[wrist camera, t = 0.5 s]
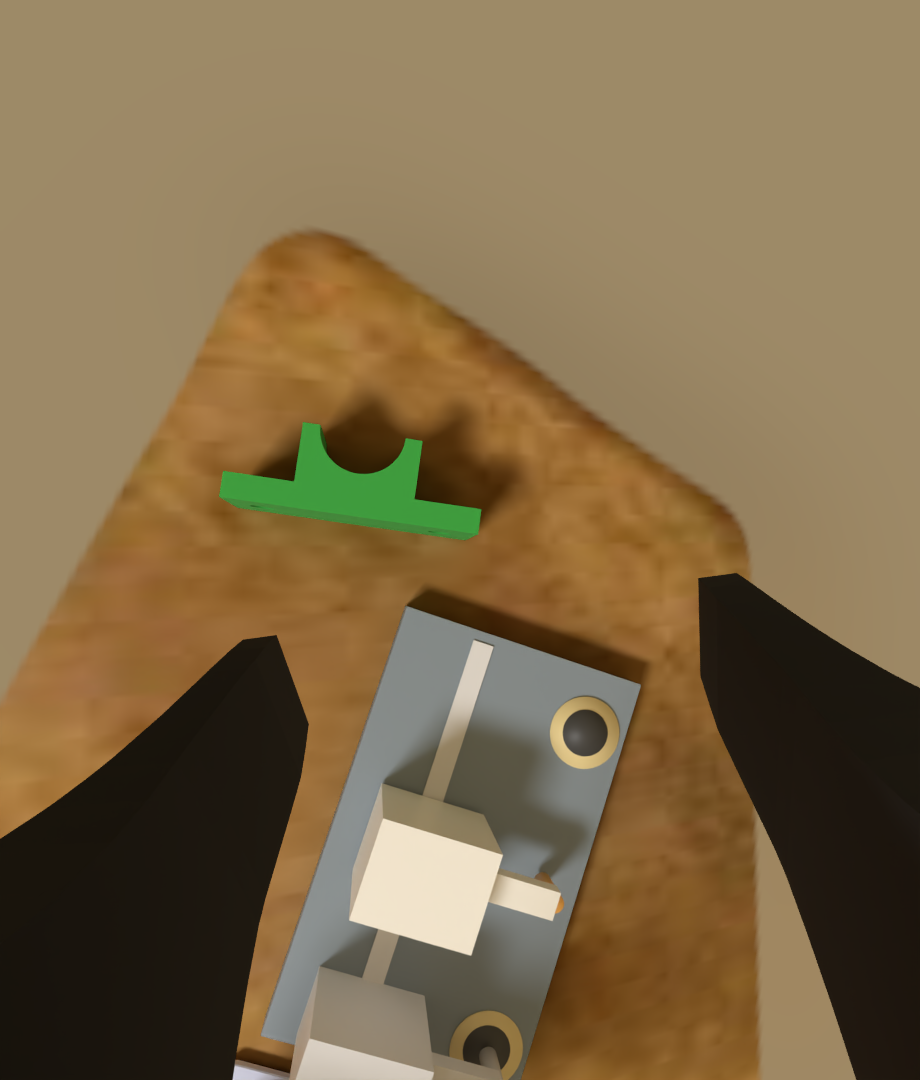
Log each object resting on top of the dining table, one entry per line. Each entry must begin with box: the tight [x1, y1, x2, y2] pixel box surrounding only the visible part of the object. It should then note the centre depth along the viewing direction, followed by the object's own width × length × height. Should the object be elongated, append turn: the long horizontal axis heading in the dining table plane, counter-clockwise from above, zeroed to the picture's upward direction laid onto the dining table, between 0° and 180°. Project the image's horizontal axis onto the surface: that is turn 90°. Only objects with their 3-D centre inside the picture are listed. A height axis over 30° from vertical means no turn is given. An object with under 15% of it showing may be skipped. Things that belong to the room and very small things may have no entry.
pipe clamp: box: [219, 422, 481, 540], centre depth 33 cm, size 11×4×5 cm, turn 82°
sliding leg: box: [349, 783, 564, 956], centre depth 31 cm, size 4×9×5 cm, turn 71°
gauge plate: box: [261, 606, 641, 1080], centre depth 32 cm, size 20×12×7 cm, turn 162°
